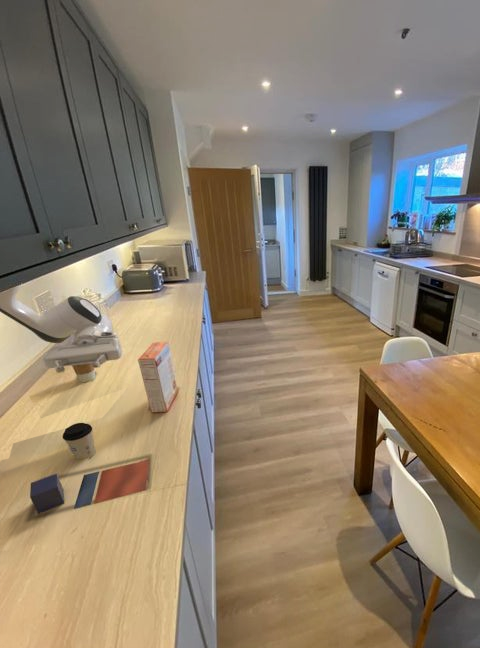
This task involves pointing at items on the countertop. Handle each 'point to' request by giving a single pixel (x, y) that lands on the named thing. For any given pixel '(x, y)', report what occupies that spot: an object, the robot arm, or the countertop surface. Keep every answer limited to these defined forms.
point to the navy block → (47, 493)
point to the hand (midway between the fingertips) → (77, 368)
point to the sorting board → (113, 483)
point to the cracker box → (158, 376)
